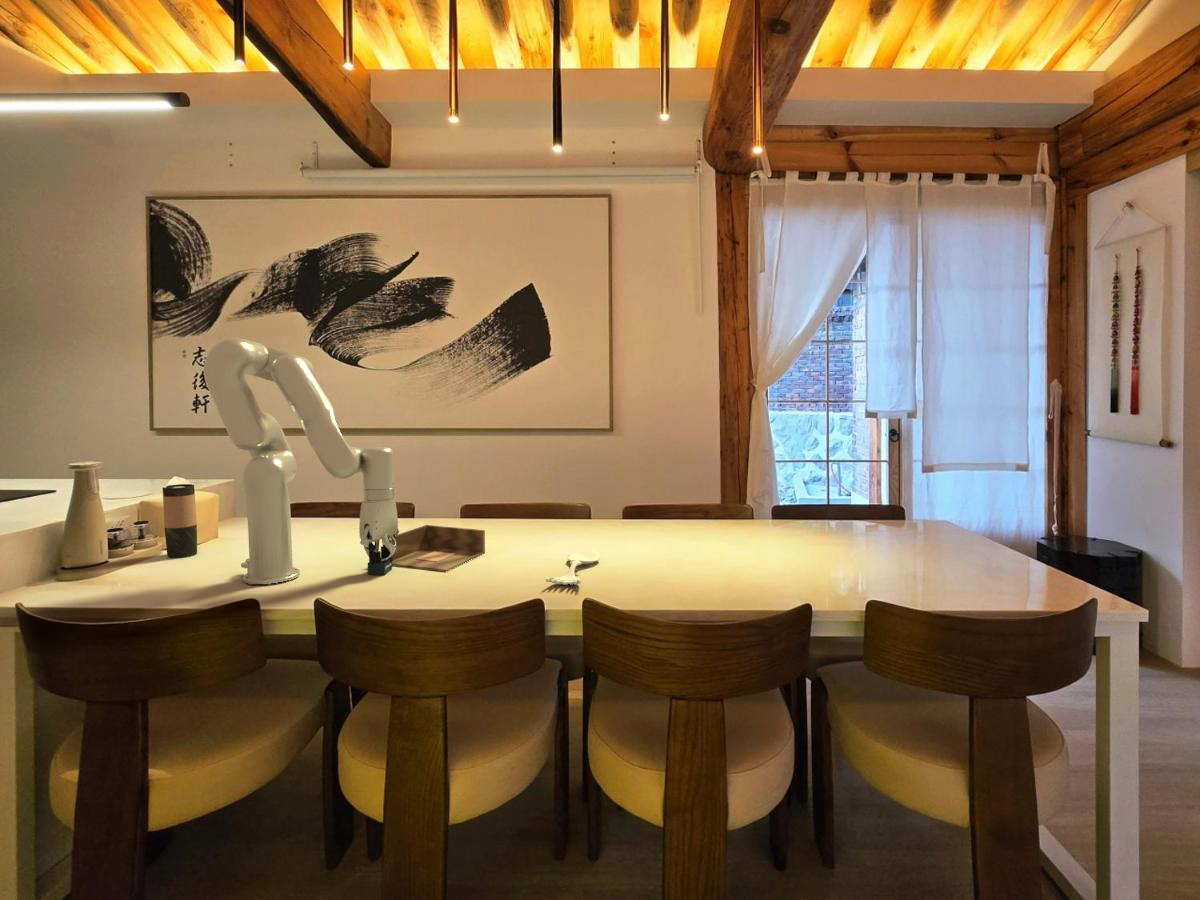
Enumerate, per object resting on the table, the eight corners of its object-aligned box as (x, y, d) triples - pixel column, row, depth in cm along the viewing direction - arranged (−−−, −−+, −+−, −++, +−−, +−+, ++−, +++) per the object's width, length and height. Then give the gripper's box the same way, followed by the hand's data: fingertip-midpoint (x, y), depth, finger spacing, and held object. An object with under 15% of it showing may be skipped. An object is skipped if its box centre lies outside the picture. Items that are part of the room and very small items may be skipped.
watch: (391, 575, 159) (391, 533, 158) (360, 574, 159) (360, 532, 158) (399, 569, 165) (399, 528, 164) (369, 568, 165) (369, 527, 164)
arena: (383, 564, 169) (382, 539, 168) (426, 547, 188) (426, 524, 187) (446, 571, 163) (446, 545, 162) (484, 553, 181) (484, 530, 181)
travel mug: (203, 554, 179) (199, 485, 177) (173, 560, 172) (169, 488, 170) (190, 550, 183) (186, 483, 181) (161, 556, 176) (157, 486, 174)
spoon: (543, 591, 148) (543, 577, 148) (572, 556, 180) (572, 545, 179) (580, 593, 147) (580, 579, 146) (602, 558, 178) (603, 546, 178)
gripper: (388, 489, 169) (389, 554, 171) (344, 499, 154) (346, 571, 155) (411, 490, 167) (412, 557, 169) (369, 500, 151) (371, 574, 153)
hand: (381, 563), depth 162 cm, fingers closed on watch, 3 cm apart
